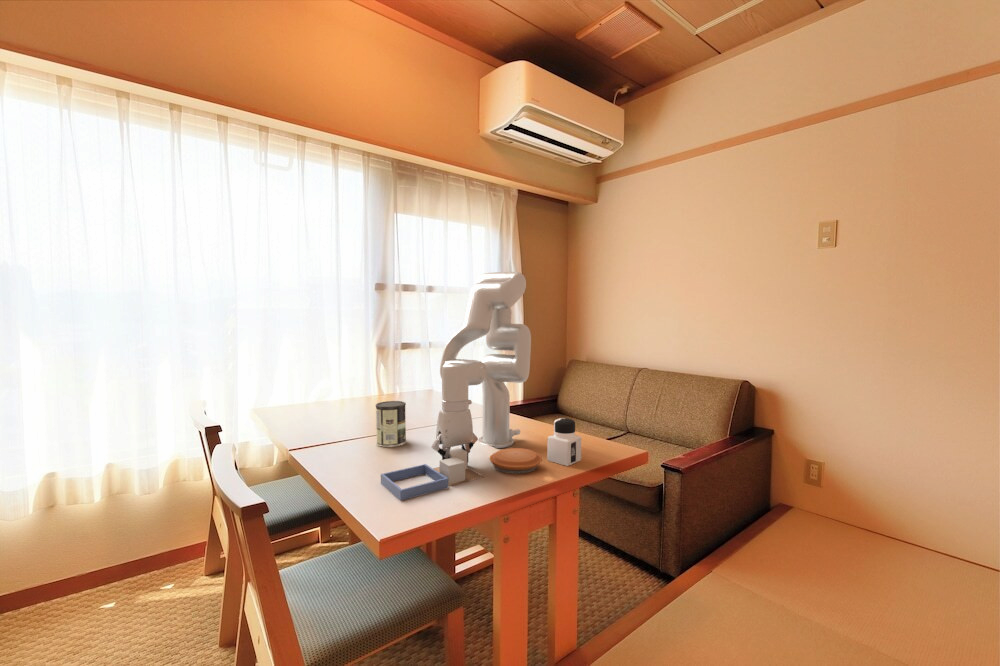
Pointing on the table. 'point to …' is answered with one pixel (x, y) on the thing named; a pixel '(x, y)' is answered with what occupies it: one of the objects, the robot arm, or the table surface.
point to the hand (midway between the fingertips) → (455, 467)
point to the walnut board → (469, 475)
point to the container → (564, 443)
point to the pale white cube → (453, 469)
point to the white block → (459, 454)
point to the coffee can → (390, 423)
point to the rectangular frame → (417, 490)
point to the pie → (515, 460)
